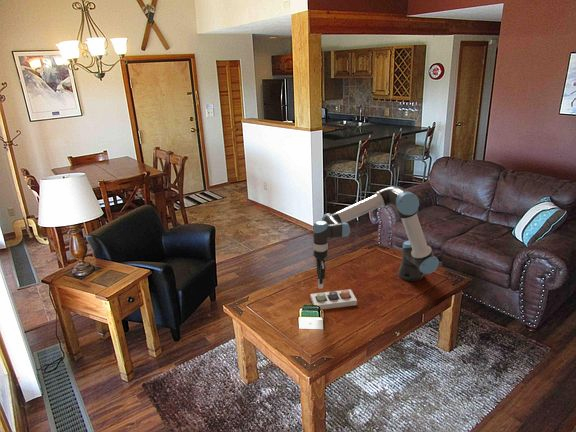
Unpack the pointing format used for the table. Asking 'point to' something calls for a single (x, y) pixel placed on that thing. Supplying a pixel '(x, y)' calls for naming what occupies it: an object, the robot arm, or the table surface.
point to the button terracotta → (345, 294)
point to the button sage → (321, 297)
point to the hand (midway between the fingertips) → (320, 287)
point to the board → (334, 303)
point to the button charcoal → (333, 295)
